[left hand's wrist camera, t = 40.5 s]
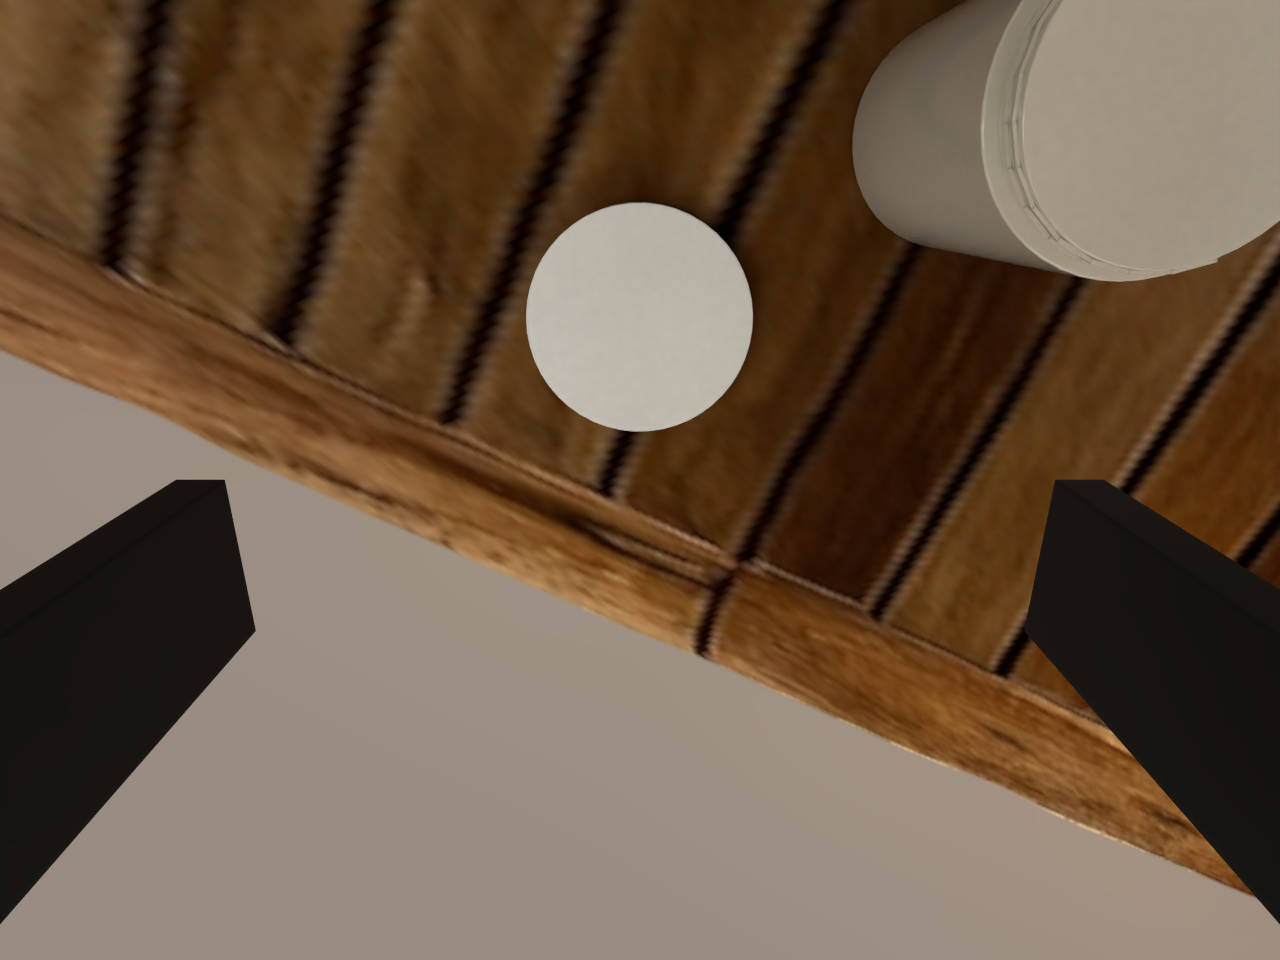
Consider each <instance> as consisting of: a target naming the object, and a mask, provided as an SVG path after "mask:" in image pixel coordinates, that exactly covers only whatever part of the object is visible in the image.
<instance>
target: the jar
mask: <svg viewBox="0 0 1280 960" xmlns="http://www.w3.org/2000/svg"><path fill="white" fill-rule="evenodd" d="M852 153H853V163H854V169H855V174H856V178H857V182H858V185H859V187H860V190H861V192H862V195H863V197H864V199H865V200H866V202H867V204H868V206H869V207H870V209H871V210H872V211H873V213H874V214H875V215H876V217H877V218H878V219H879V220H880V221H881V222H882V223H883V224H884V225H885V226H886V227H887V228H889V229H890V230H891V231H893V232H894V233H895V234H897V235H898V236H900V237H902V238H904V239H906V240H908V241H910V242H913V243H916V244H919V245H922V246H927V247H932V248H937V249H942V250H947V251H952V252H957V253H962V254H967V255H972V256H977V257H982V258H987V259H992V260H997V261H1002V262H1007V263H1012V264H1017V265H1023V266H1028V267H1033V268H1038V269H1043V270H1048V271H1053V272H1058V273H1063V274H1068V275H1073V276H1078V277H1083V278H1088V279H1093V280H1098V281H1114V282H1124V281H1137V280H1145V279H1149V278H1154V277H1159V276H1164V275H1167V274H1175V273H1179V272H1183V271H1186V270H1190V269H1194V268H1197V267H1201V266H1205V265H1208V264H1212V263H1216V262H1218V261H1217V258H1218V257H1220V256H1223V255H1225V254H1227V253H1229V252H1231V251H1233V250H1236V249H1238V248H1240V247H1241V246H1243V245H1245V244H1246V243H1248V242H1250V241H1251V240H1253V239H1255V238H1256V237H1258V236H1260V235H1261V234H1262V233H1264V232H1265V231H1266V230H1268V229H1269V228H1270V227H1272V226H1273V225H1275V224H1276V223H1277V222H1279V221H1280V0H966V1H964V2H962V3H961V4H959V5H957V6H956V7H954V8H952V9H950V10H949V11H947V12H945V13H943V14H942V15H940V16H938V17H937V18H935V19H933V20H931V21H930V22H928V23H926V24H924V25H923V26H921V27H919V28H918V29H916V30H915V31H914V32H912V33H911V34H909V35H908V36H907V37H905V38H904V39H903V40H902V41H901V42H900V43H899V44H898V45H896V46H895V47H894V48H893V49H892V50H891V52H890V53H889V54H888V55H887V56H886V57H885V58H884V60H883V61H882V62H881V64H880V65H879V67H878V68H877V69H876V71H875V72H874V74H873V75H872V77H871V79H870V81H869V83H868V85H867V87H866V89H865V91H864V93H863V96H862V99H861V101H860V104H859V107H858V111H857V115H856V118H855V123H854V131H853V145H852Z"/></svg>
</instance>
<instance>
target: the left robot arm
mask: <svg viewBox="0 0 1280 960" xmlns="http://www.w3.org/2000/svg"><path fill="white" fill-rule="evenodd" d="M255 631H256V630H255V625H254V620H253V615H252V610H251V606H250V601H249V596H248V591H247V586H246V581H245V576H244V571H243V567H242V562H241V557H240V552H239V547H238V542H237V537H236V532H235V528H234V523H233V518H232V513H231V508H230V503H229V498H228V494H227V489H226V484H225V480H175V481H174V482H172V483H170V484H169V485H167V486H166V487H164V488H162V489H161V490H159V491H158V492H156V493H154V494H153V495H151V496H150V497H148V498H146V499H145V500H143V501H142V502H140V503H138V504H137V505H135V506H134V507H132V508H131V509H129V510H127V511H126V512H124V513H122V514H121V515H119V516H118V517H116V518H114V519H113V520H111V521H110V522H108V523H106V524H105V525H103V526H102V527H100V528H99V529H97V530H95V531H94V532H92V533H91V534H89V535H87V536H86V537H84V538H83V539H81V540H79V541H78V542H76V543H75V544H73V545H71V546H70V547H68V548H67V549H65V550H63V551H62V552H60V553H59V554H57V555H55V556H54V557H52V558H51V559H49V560H47V561H46V562H44V563H43V564H41V565H39V566H38V567H36V568H35V569H33V570H31V571H30V572H28V573H27V574H25V575H23V576H22V577H20V578H19V579H17V580H15V581H14V582H12V583H11V584H9V585H7V586H6V587H4V588H3V589H1V590H0V924H1V923H2V922H3V920H4V919H5V918H6V917H7V916H8V915H9V913H10V912H11V911H12V910H13V909H14V908H15V906H16V905H17V904H18V903H19V902H20V901H21V900H22V899H23V897H24V896H25V895H26V894H27V893H28V892H29V891H30V889H31V888H32V887H33V886H34V885H35V884H36V882H37V881H38V880H39V879H40V878H41V877H42V876H43V874H44V873H45V872H46V871H47V870H48V869H49V868H50V866H51V865H52V864H53V863H54V862H55V861H56V860H57V858H58V857H59V856H60V855H61V854H62V853H63V852H64V850H65V849H66V848H67V847H68V846H69V845H70V843H71V842H72V841H73V840H74V839H75V838H76V837H77V835H78V834H79V833H80V832H81V831H82V830H83V828H84V827H85V826H86V825H87V824H88V823H89V822H90V821H91V819H92V818H93V817H94V816H95V815H96V814H97V812H98V811H99V810H100V809H101V808H102V807H103V806H104V804H105V803H106V802H107V801H108V800H109V799H110V797H111V796H112V795H113V794H114V793H115V792H116V791H117V789H118V788H119V787H120V786H121V785H122V784H123V783H124V781H125V780H126V779H127V778H128V777H129V776H130V775H131V773H132V772H133V771H134V770H135V769H136V768H137V767H138V765H139V764H140V763H141V762H142V761H143V760H144V759H145V757H146V756H147V755H148V754H149V753H150V752H151V750H152V749H153V748H154V747H155V746H156V745H157V744H158V742H159V741H160V740H161V739H162V738H163V737H164V736H165V734H166V733H167V732H168V731H169V730H170V729H171V727H172V726H173V725H174V724H175V723H176V722H177V721H178V719H179V718H180V717H181V716H182V715H183V714H184V713H185V711H186V710H187V709H188V708H189V707H190V706H191V705H192V703H193V702H194V701H195V700H196V699H197V698H198V696H199V695H200V694H201V693H202V692H203V691H204V690H205V688H206V687H207V686H208V685H209V684H210V683H211V682H212V680H213V679H214V678H215V677H216V676H217V675H218V674H219V672H220V671H221V670H222V669H223V668H224V667H225V665H226V664H227V663H228V662H229V661H230V660H231V659H232V657H233V656H234V655H235V654H236V653H237V652H238V651H239V649H240V648H241V647H242V646H243V645H244V644H245V643H246V641H247V640H248V639H249V638H250V637H251V636H252V634H253V633H254V632H255ZM1024 631H1025V632H1026V633H1027V634H1028V636H1029V637H1030V638H1031V639H1032V640H1033V641H1034V643H1035V644H1036V645H1037V646H1038V647H1039V648H1040V649H1041V651H1042V652H1043V653H1044V654H1045V655H1046V656H1047V657H1048V659H1049V660H1050V661H1051V662H1052V663H1053V664H1054V665H1055V667H1056V668H1057V669H1058V670H1059V671H1060V672H1061V674H1062V675H1063V676H1064V677H1065V678H1066V679H1067V680H1068V682H1069V683H1070V684H1071V685H1072V686H1073V687H1074V688H1075V690H1076V691H1077V692H1078V693H1079V694H1080V695H1081V697H1082V698H1083V699H1084V700H1085V701H1086V702H1087V703H1088V705H1089V706H1090V707H1091V708H1092V709H1093V710H1094V711H1095V713H1096V714H1097V715H1098V716H1099V717H1100V718H1101V719H1102V721H1103V722H1104V723H1105V724H1106V725H1107V726H1108V728H1109V729H1110V730H1111V731H1112V732H1113V733H1114V734H1115V736H1116V737H1117V738H1118V739H1119V740H1120V741H1121V742H1122V744H1123V745H1124V746H1125V747H1126V748H1127V749H1128V750H1129V752H1130V753H1131V754H1132V755H1133V756H1134V757H1135V759H1136V760H1137V761H1138V762H1139V763H1140V764H1141V765H1142V767H1143V768H1144V769H1145V770H1146V771H1147V772H1148V773H1149V775H1150V776H1151V777H1152V778H1153V779H1154V780H1155V781H1156V783H1157V784H1158V785H1159V786H1160V787H1161V788H1162V790H1163V791H1164V792H1165V793H1166V794H1167V795H1168V796H1169V798H1170V799H1171V800H1172V801H1173V802H1174V803H1175V804H1176V806H1177V807H1178V808H1179V809H1180V810H1181V811H1182V812H1183V814H1184V815H1185V816H1186V817H1187V818H1188V819H1189V821H1190V822H1191V823H1192V824H1193V825H1194V826H1195V827H1196V829H1197V830H1198V831H1199V832H1200V833H1201V834H1202V835H1203V837H1204V838H1205V839H1206V840H1207V841H1208V842H1209V843H1210V845H1211V846H1212V847H1213V848H1214V849H1215V850H1216V852H1217V853H1218V854H1219V855H1220V856H1221V857H1222V858H1223V860H1224V861H1225V862H1226V863H1227V864H1228V865H1229V866H1230V868H1231V869H1232V870H1233V871H1234V872H1235V873H1236V874H1237V876H1238V877H1239V878H1240V879H1241V880H1242V881H1243V883H1244V884H1245V885H1246V886H1247V887H1248V888H1249V889H1250V891H1251V892H1252V893H1253V894H1254V895H1255V896H1256V897H1257V899H1258V900H1259V901H1260V902H1261V903H1262V904H1263V905H1264V907H1265V908H1266V909H1267V910H1268V911H1269V912H1270V913H1271V915H1272V916H1273V917H1274V918H1275V919H1276V920H1277V922H1278V923H1279V924H1280V590H1279V589H1277V588H1276V587H1274V586H1273V585H1271V584H1269V583H1268V582H1266V581H1265V580H1263V579H1261V578H1260V577H1258V576H1257V575H1255V574H1253V573H1252V572H1250V571H1249V570H1247V569H1245V568H1244V567H1242V566H1241V565H1239V564H1237V563H1236V562H1234V561H1233V560H1231V559H1229V558H1228V557H1226V556H1225V555H1223V554H1221V553H1220V552H1218V551H1217V550H1215V549H1213V548H1212V547H1210V546H1209V545H1207V544H1206V543H1204V542H1202V541H1201V540H1199V539H1198V538H1196V537H1194V536H1193V535H1191V534H1190V533H1188V532H1186V531H1185V530H1183V529H1182V528H1180V527H1178V526H1177V525H1175V524H1174V523H1172V522H1170V521H1169V520H1167V519H1166V518H1164V517H1162V516H1161V515H1159V514H1158V513H1156V512H1154V511H1153V510H1151V509H1150V508H1148V507H1146V506H1145V505H1143V504H1142V503H1140V502H1138V501H1137V500H1135V499H1134V498H1132V497H1130V496H1129V495H1127V494H1126V493H1124V492H1122V491H1121V490H1119V489H1118V488H1116V487H1114V486H1113V485H1111V484H1110V483H1108V482H1106V481H1105V480H1055V484H1054V489H1053V493H1052V498H1051V503H1050V508H1049V513H1048V518H1047V523H1046V528H1045V532H1044V537H1043V542H1042V547H1041V552H1040V557H1039V562H1038V566H1037V571H1036V576H1035V581H1034V586H1033V591H1032V596H1031V601H1030V605H1029V610H1028V615H1027V620H1026V625H1025V630H1024Z"/></svg>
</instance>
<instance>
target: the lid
mask: <svg viewBox="0 0 1280 960" xmlns="http://www.w3.org/2000/svg"><path fill="white" fill-rule="evenodd" d="M526 323H527V334H528V339H529V344H530V348H531V351H532V354H533V357H534V360H535V362H536V364H537V366H538V369H539V371H540V373H541V374H542V376H543V378H544V379H545V381H546V382H547V384H548V385H549V386H550V388H551V389H552V390H553V391H554V392H555V394H556V395H557V396H558V397H559V398H560V399H561V400H562V401H563V402H564V403H566V404H567V405H568V406H569V407H570V408H572V409H573V410H575V411H576V412H577V413H579V414H580V415H582V416H584V417H586V418H588V419H589V420H591V421H593V422H596V423H599V424H601V425H604V426H607V427H611V428H615V429H619V430H627V431H653V430H660V429H665V428H668V427H672V426H676V425H678V424H681V423H683V422H686V421H688V420H690V419H692V418H693V417H695V416H697V415H699V414H701V413H702V412H703V411H705V410H706V409H707V408H709V407H710V406H711V405H713V404H714V403H715V402H716V401H717V400H718V399H719V398H720V397H721V396H722V395H723V394H724V393H725V391H726V390H727V389H728V388H729V387H730V385H731V384H732V383H733V381H734V379H735V378H736V376H737V374H738V373H739V371H740V369H741V367H742V365H743V362H744V360H745V358H746V355H747V352H748V348H749V345H750V340H751V334H752V326H753V309H752V298H751V294H750V290H749V285H748V282H747V279H746V277H745V274H744V271H743V269H742V267H741V265H740V263H739V261H738V260H737V258H736V256H735V255H734V253H733V252H732V250H731V249H730V248H729V246H728V245H727V243H726V242H725V241H724V240H723V239H722V238H721V237H720V236H719V235H718V234H717V233H716V232H715V231H714V230H712V229H711V228H710V227H709V226H707V225H706V224H705V223H704V222H702V221H700V220H699V219H697V218H695V217H694V216H692V215H690V214H688V213H686V212H683V211H681V210H679V209H676V208H673V207H670V206H666V205H662V204H657V203H649V202H629V203H623V204H616V205H613V206H609V207H606V208H603V209H600V210H598V211H596V212H594V213H591V214H589V215H587V216H585V217H584V218H582V219H580V220H579V221H577V222H576V223H574V224H573V225H571V226H570V227H569V228H568V229H567V230H566V231H564V232H563V233H562V234H561V235H560V236H559V237H558V238H557V239H556V240H555V242H554V243H553V244H552V245H551V246H550V247H549V249H548V250H547V252H546V253H545V255H544V256H543V258H542V259H541V261H540V263H539V265H538V267H537V269H536V271H535V274H534V277H533V280H532V283H531V286H530V290H529V295H528V300H527V311H526Z"/></svg>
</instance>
